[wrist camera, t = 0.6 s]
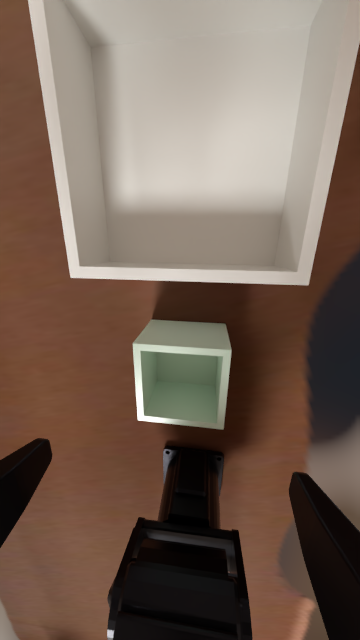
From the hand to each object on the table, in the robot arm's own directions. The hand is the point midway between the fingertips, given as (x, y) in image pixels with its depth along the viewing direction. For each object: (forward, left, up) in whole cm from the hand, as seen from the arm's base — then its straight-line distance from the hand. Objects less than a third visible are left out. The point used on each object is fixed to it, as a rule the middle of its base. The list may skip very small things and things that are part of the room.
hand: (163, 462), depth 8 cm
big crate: (+13, 0, -12) cm, 17 cm away
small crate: (-2, 0, -12) cm, 12 cm away
